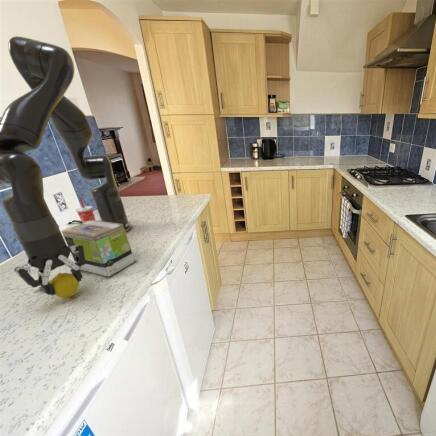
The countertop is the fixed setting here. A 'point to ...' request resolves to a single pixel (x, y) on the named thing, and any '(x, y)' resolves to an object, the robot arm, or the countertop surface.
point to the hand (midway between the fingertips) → (65, 287)
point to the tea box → (101, 246)
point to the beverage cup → (85, 213)
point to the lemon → (64, 285)
